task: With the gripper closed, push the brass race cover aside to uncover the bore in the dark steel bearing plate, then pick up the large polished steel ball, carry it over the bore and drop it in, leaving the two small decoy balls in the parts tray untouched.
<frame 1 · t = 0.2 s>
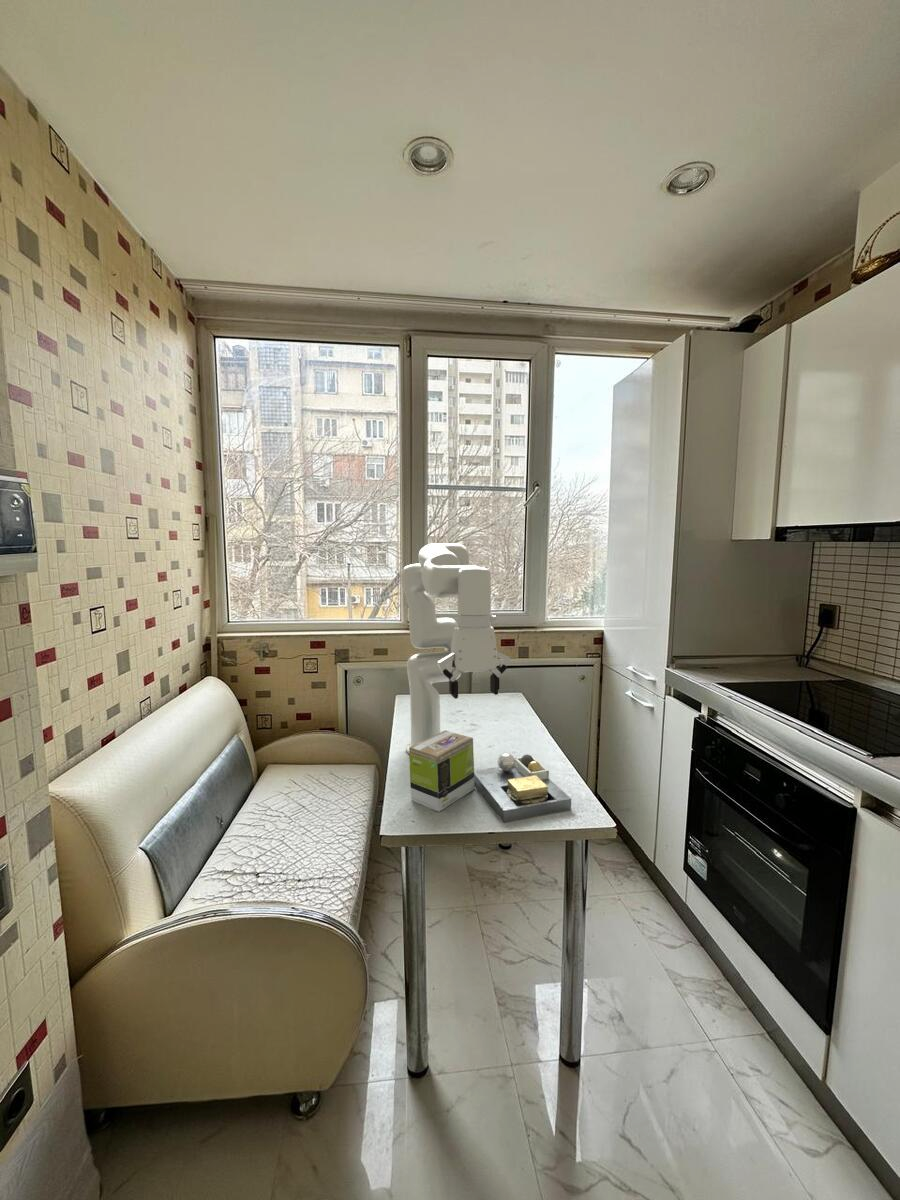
hand: (474, 694, 114), 31 cm above the table, fingers open, 9 cm apart
tea box: (442, 796, 130), on the table
parts tray: (530, 771, 137), resting on bearing plate
brass race cover: (527, 787, 125), point 4 cm above the table, slide at 0.0 cm
steel ball: (506, 762, 137), point 5 cm above the table, touching bearing plate
bearing plate: (518, 794, 130), on the table
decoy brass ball: (534, 767, 134), point 5 cm above the table, touching parts tray
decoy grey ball: (527, 761, 138), point 5 cm above the table, touching parts tray
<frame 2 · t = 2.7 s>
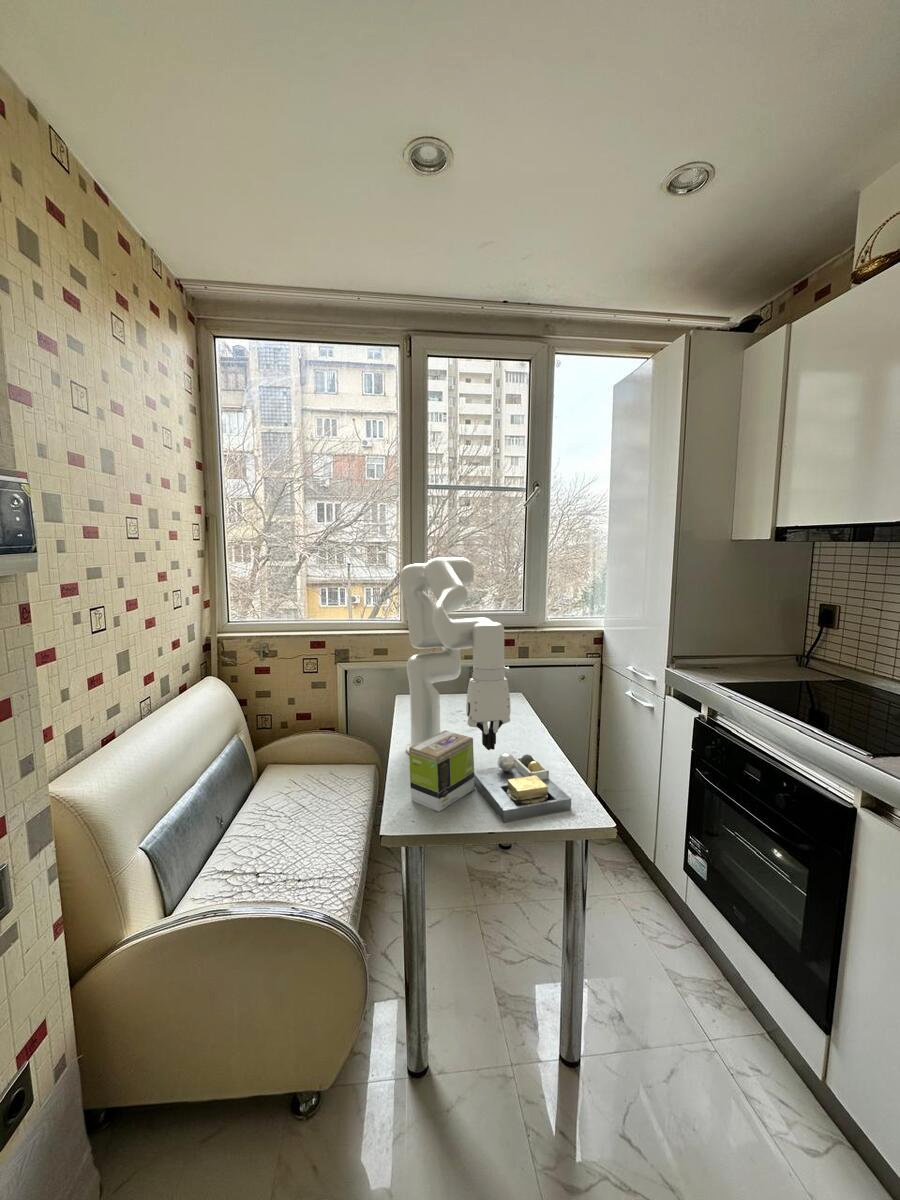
hand: (489, 747, 120), 16 cm above the table, fingers closed
nothing on the table moved.
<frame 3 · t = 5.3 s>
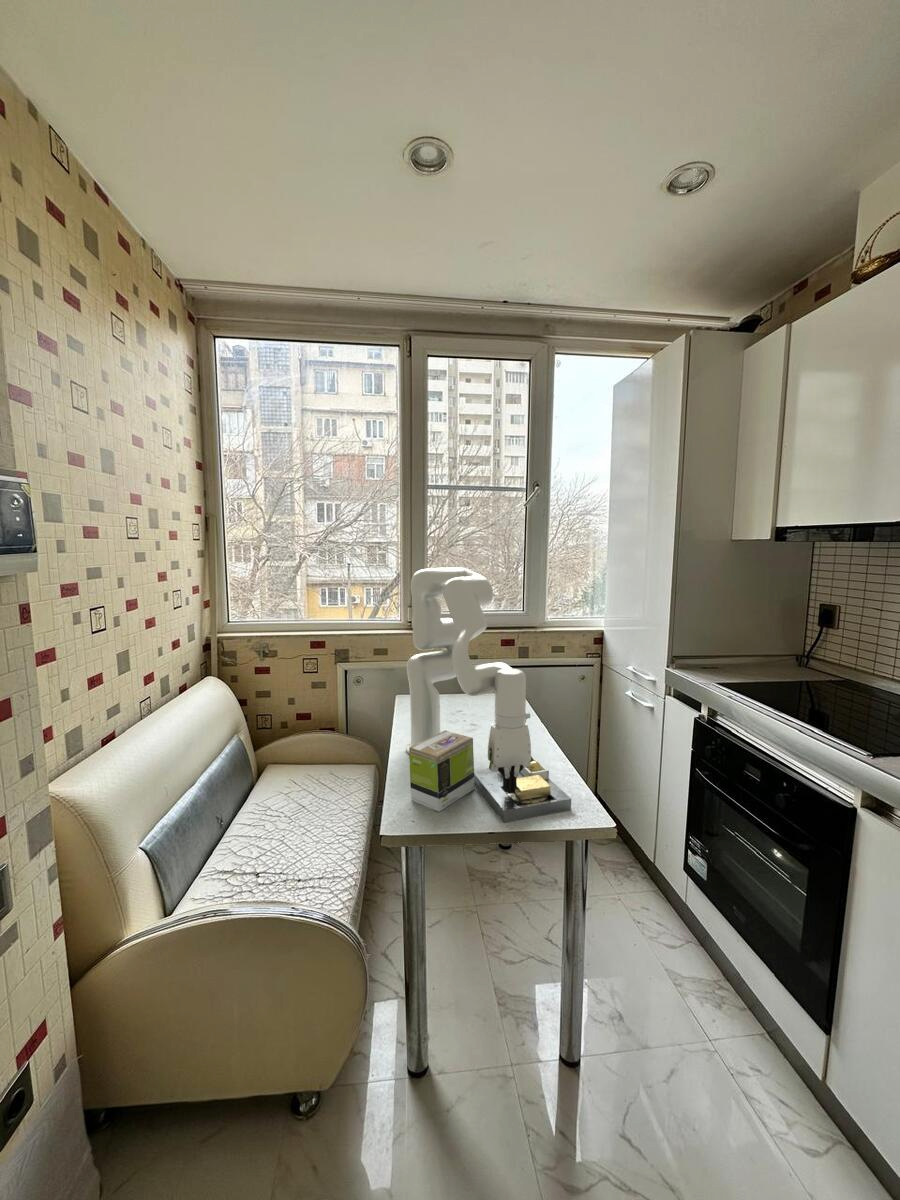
hand: (509, 790, 123), 4 cm above the table, fingers closed
brass race cover: (530, 786, 125), point 4 cm above the table, slide at 0.8 cm, touching gripper
everything else where it was.
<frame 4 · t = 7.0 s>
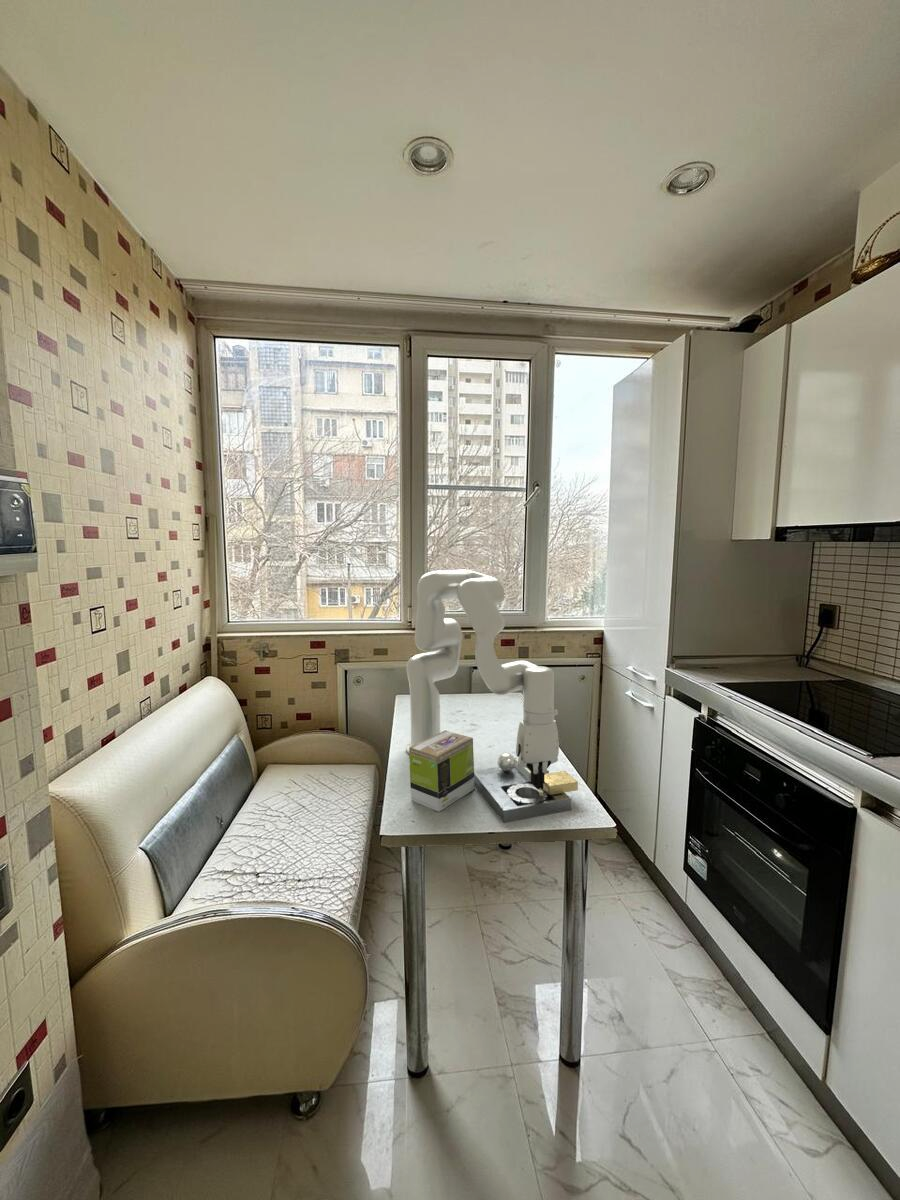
hand: (537, 786, 125), 4 cm above the table, fingers closed
brass race cover: (557, 782, 127), point 4 cm above the table, slide at 8.5 cm, touching gripper
everything else where it was.
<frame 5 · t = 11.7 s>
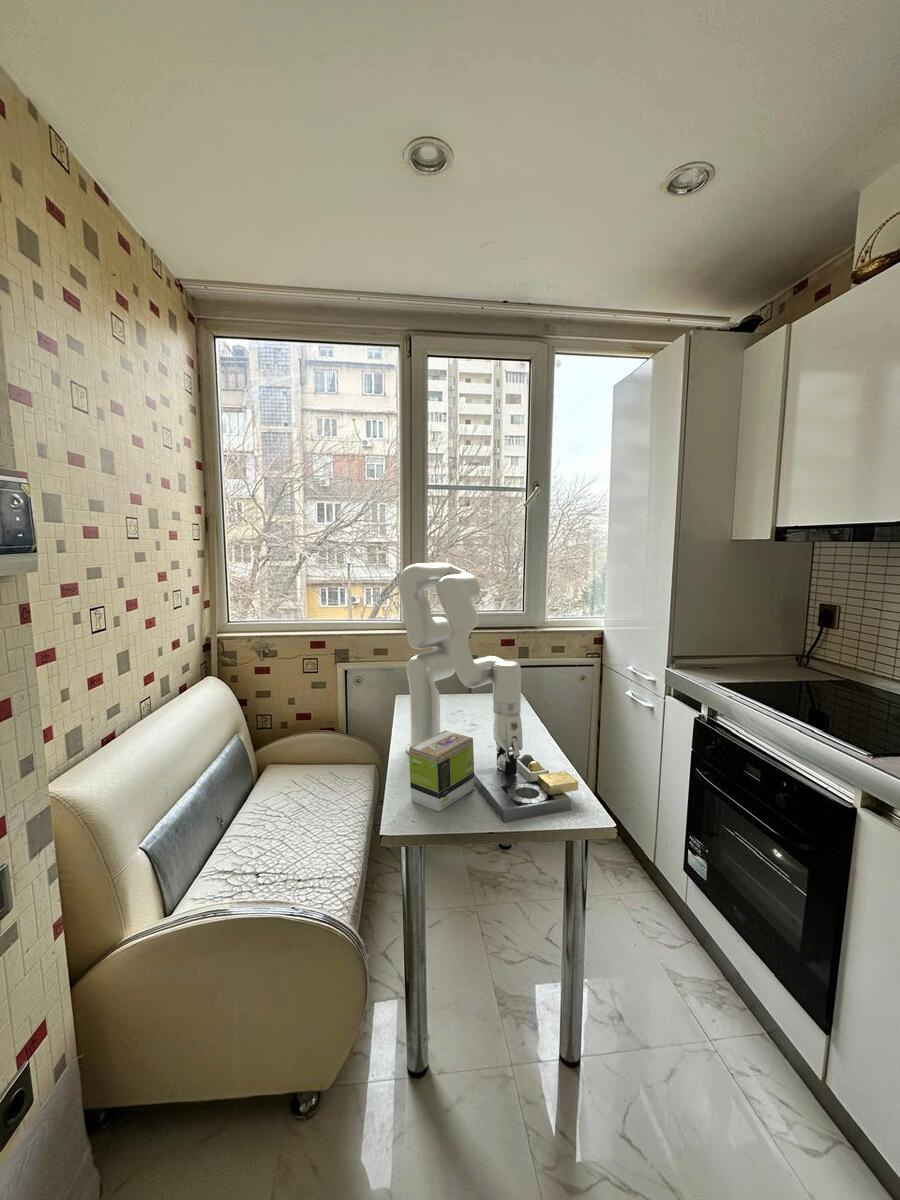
hand: (506, 769, 137), 3 cm above the table, fingers closed on steel ball, 4 cm apart
brass race cover: (557, 782, 127), point 4 cm above the table, slide at 8.6 cm
steel ball: (506, 762, 137), point 5 cm above the table, touching bearing plate, gripper
everything else where it was.
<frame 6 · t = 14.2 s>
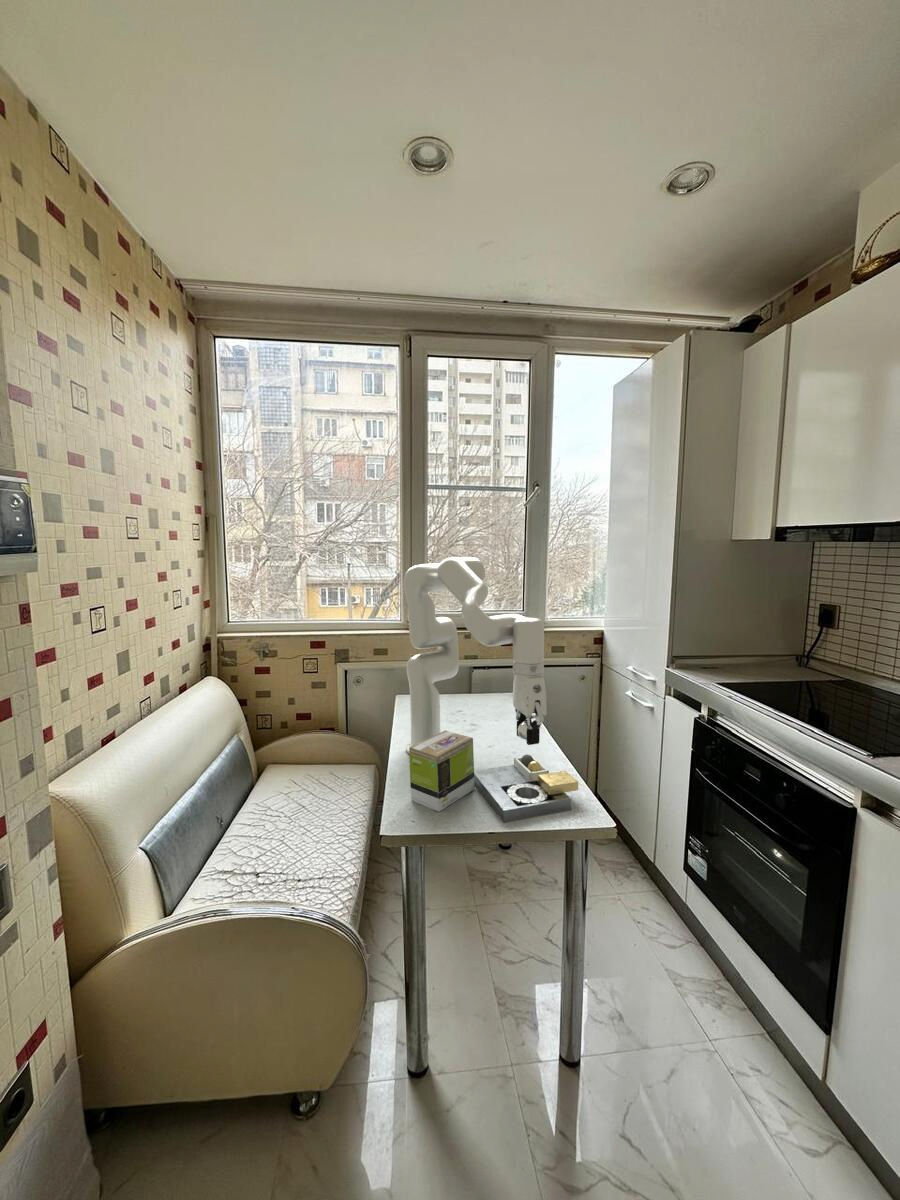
hand: (527, 738, 123), 17 cm above the table, fingers closed on steel ball, 4 cm apart
steel ball: (527, 730, 123), point 19 cm above the table, touching gripper
everything else where it was.
when the fingers open (5 cm above the table, at t = 16.7 s): steel ball drops 4 cm, point 2 cm above the table.
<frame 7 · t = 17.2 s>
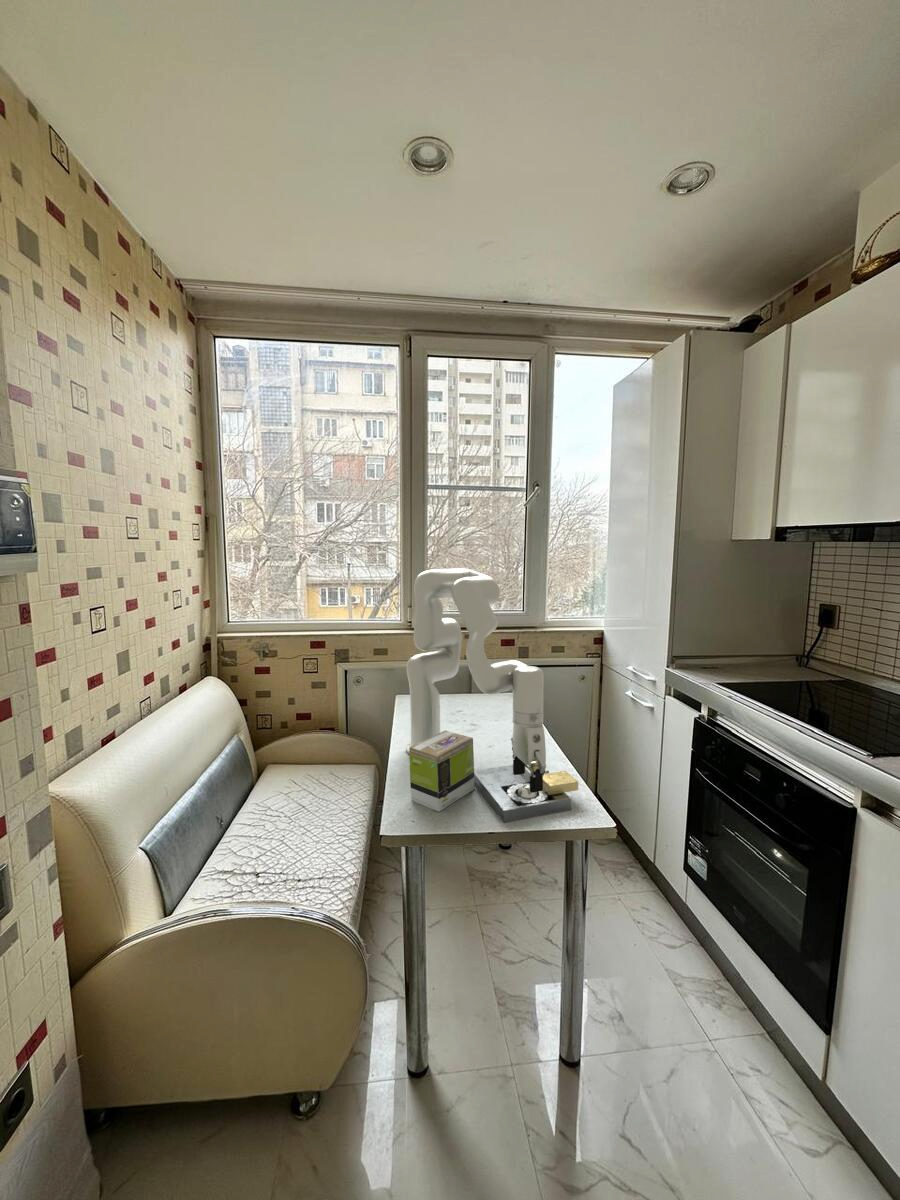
hand: (527, 782, 124), 6 cm above the table, fingers open, 9 cm apart
steel ball: (527, 795, 125), point 2 cm above the table, tilted 7°
everything else where it was.
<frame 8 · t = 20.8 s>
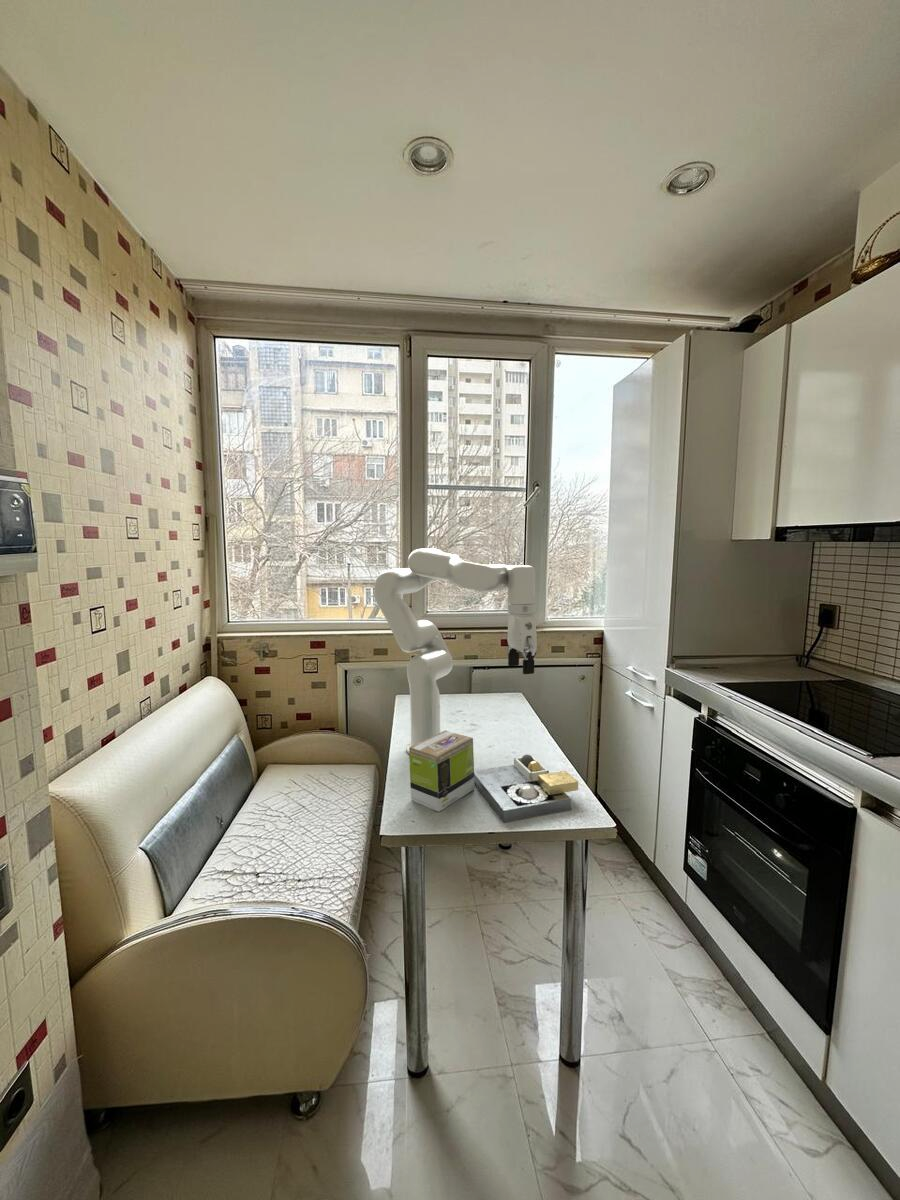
hand: (520, 669, 140), 30 cm above the table, fingers open, 9 cm apart
steel ball: (528, 795, 124), point 2 cm above the table, tilted 12°
everything else where it was.
at the end: steel ball 0.4 cm from the target spot in the bearing plate, point 2.5 cm above the bearing plate's base; brass race cover slide at 8.6 cm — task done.
